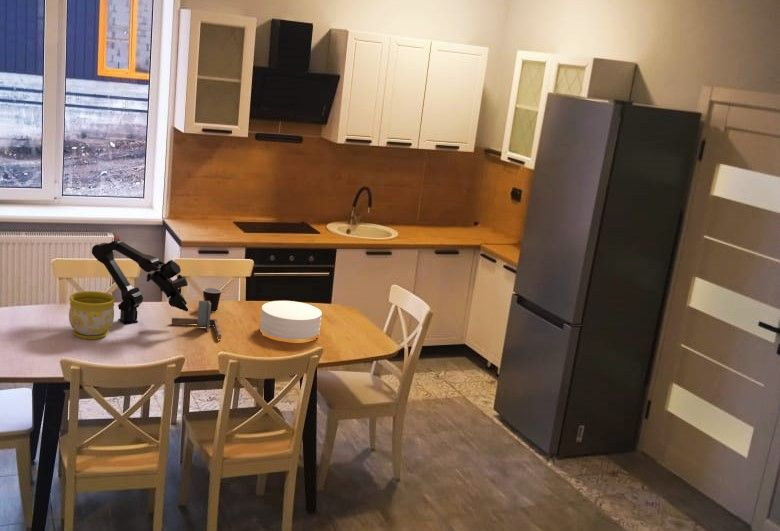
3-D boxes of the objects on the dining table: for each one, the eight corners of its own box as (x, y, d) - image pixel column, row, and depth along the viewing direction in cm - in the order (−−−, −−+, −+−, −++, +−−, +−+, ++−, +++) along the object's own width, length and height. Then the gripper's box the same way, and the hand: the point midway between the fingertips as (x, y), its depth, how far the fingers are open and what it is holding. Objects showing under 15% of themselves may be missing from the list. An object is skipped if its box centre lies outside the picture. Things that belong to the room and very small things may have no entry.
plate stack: (247, 331, 367) (249, 308, 365) (282, 319, 392) (284, 297, 389) (297, 348, 355) (299, 324, 353) (330, 334, 380) (333, 311, 377)
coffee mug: (217, 313, 385) (219, 294, 383) (199, 311, 385) (201, 291, 383) (222, 306, 397) (224, 287, 394) (205, 304, 397) (207, 285, 394)
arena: (220, 340, 350) (221, 334, 350) (173, 339, 344) (174, 333, 343) (216, 325, 369) (216, 319, 368) (171, 323, 363) (172, 317, 362)
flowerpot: (59, 337, 329) (60, 299, 325) (81, 324, 346) (83, 288, 342) (100, 344, 327) (102, 306, 323) (120, 331, 344) (122, 295, 340)
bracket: (208, 331, 359) (211, 304, 356) (197, 331, 358) (199, 304, 355) (207, 328, 364) (210, 301, 361) (196, 327, 362) (199, 300, 359)
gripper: (179, 277, 342) (202, 302, 348) (176, 265, 359) (199, 289, 366) (158, 293, 341) (182, 318, 348) (157, 281, 358) (180, 305, 365)
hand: (186, 307), depth 356 cm, fingers open, 9 cm apart
